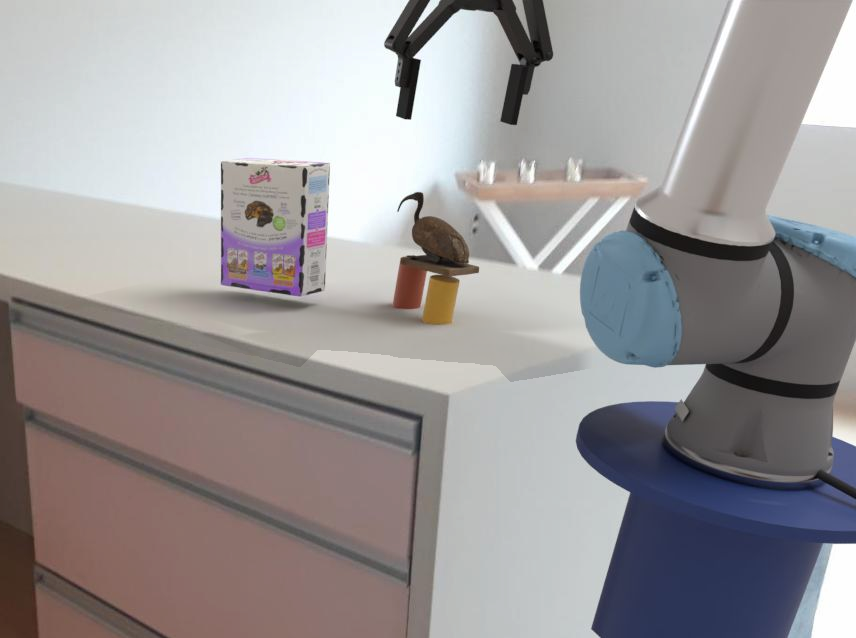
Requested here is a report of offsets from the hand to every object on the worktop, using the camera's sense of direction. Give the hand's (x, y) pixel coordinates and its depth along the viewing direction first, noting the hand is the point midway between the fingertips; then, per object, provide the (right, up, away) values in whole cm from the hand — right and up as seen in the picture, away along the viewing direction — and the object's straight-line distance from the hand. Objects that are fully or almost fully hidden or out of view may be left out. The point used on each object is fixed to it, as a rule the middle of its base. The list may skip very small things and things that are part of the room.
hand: (456, 121), depth 137 cm
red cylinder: (-3, -20, +15) cm, 25 cm away
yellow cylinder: (-1, -24, +7) cm, 25 cm away
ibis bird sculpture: (-2, -16, +8) cm, 18 cm away
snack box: (-20, -16, +18) cm, 32 cm away
